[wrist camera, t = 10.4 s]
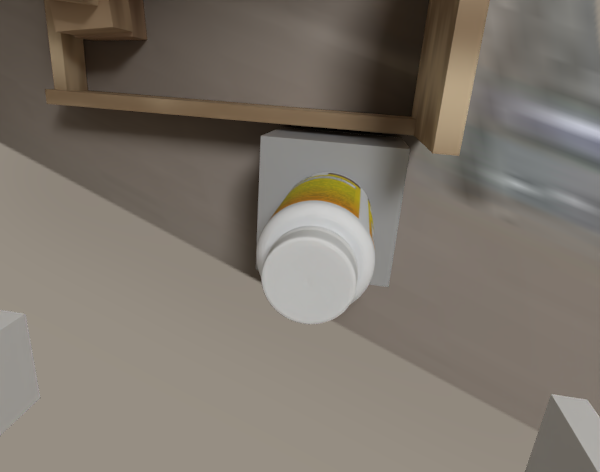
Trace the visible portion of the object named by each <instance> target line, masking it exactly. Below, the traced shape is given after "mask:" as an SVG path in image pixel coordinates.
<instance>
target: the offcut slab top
mask: <svg viewBox="0 0 600 472" xmlns="http://www.w3.org/2000/svg"><path fill="white" fill-rule="evenodd" d="M49 3H50V8H51V12H52V17H53V22H54V26H55V31H56V32H59V33H65V34H70V35H75V36H90V35H102V34H114V33H126V32H133V27H132V20H131V14H130V8H129V2H128V0H98V6H94V5H87V4H80V3H72V2H65V1H58V0H49Z"/></svg>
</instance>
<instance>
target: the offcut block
mask: <svg viewBox="0 0 600 472" xmlns="http://www.w3.org/2000/svg"><path fill="white" fill-rule="evenodd" d="M58 1H65V2H72V3H80V4H87V5H94V6H98V0H58Z"/></svg>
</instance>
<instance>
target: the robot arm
mask: <svg viewBox="0 0 600 472" xmlns="http://www.w3.org/2000/svg"><path fill="white" fill-rule="evenodd" d="M39 399H40V393H39V387H38V381H37V376H36V370H35V364H34V359H33V353H32V347H31V342H30V336H29V330H28V325H27V319H26V314H24V313H18V312H11V311H4V310H0V435H2V433H4V432H5V431H6V430H7V429H8V428H9V427H10V426H11V425H12V424H13V423H14V422H15V421H16V420H17V419H19V418H20V417H21V416H22V415H23V414H24V413H25V412H26V411H27V410H28V409H29V408H30V407H31V406H32V405H33V404H34V403H35V402H37V401H38V400H39ZM525 472H600V417H599V416H598V414H597V413H596V411H595V410H594V408H593V407H592V406H591V404H590V403H589V401H588V400H586V399H580V398H573V397H567V396H560V395H554V394H551V396H550V399H549V402H548V405H547V408H546V411H545V414H544V417H543V420H542V423H541V426H540V429H539V432H538V435H537V438H536V441H535V443H534V447H533V450H532V452H531V455H530V458H529V461H528V465H527V467H526V470H525Z"/></svg>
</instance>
